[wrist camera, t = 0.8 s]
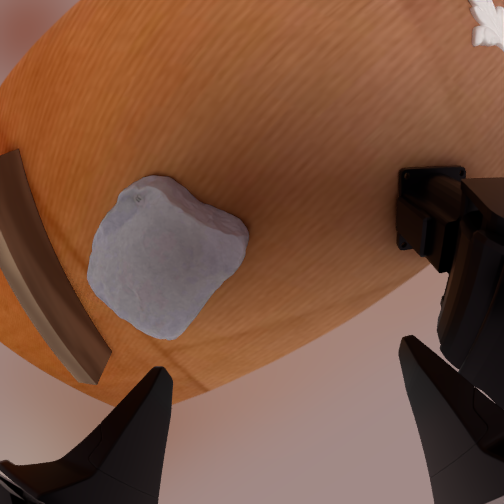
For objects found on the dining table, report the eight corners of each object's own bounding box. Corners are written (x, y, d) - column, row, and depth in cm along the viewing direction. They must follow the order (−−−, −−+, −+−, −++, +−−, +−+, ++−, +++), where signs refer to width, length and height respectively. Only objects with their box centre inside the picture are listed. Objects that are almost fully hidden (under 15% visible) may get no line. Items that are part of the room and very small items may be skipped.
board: (18, 148, 16) (-21, 164, 12) (112, 352, 27) (96, 384, 23) (3, 160, 16) (-34, 177, 12) (93, 351, 28) (78, 382, 23)
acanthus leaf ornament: (467, 46, 11) (481, 44, 10) (450, -18, 8) (461, -23, 6) (515, 68, 11) (528, 69, 9) (502, 9, 7) (513, 8, 6)
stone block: (104, 261, 24) (184, 326, 25) (72, 282, 19) (164, 359, 20) (159, 151, 19) (263, 230, 20) (123, 154, 15) (252, 254, 16)
